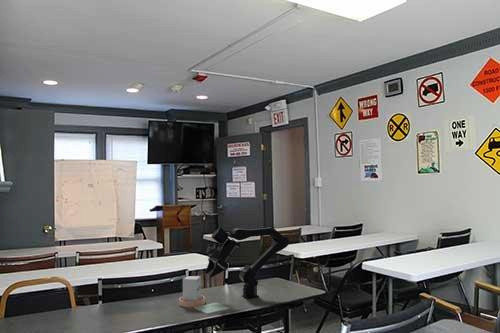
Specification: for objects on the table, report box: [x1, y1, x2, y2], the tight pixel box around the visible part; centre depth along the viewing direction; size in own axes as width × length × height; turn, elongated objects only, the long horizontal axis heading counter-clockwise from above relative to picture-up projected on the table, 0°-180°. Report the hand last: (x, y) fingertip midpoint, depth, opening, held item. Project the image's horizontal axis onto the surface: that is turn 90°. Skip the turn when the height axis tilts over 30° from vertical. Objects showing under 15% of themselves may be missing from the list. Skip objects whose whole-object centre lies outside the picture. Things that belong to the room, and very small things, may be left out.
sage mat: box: [194, 302, 231, 315], centre depth 191 cm, size 12×12×1 cm
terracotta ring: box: [178, 294, 206, 308], centre depth 201 cm, size 13×13×2 cm
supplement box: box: [182, 275, 202, 301], centre depth 201 cm, size 7×7×13 cm
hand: (207, 275), depth 203 cm, fingers open, 9 cm apart
